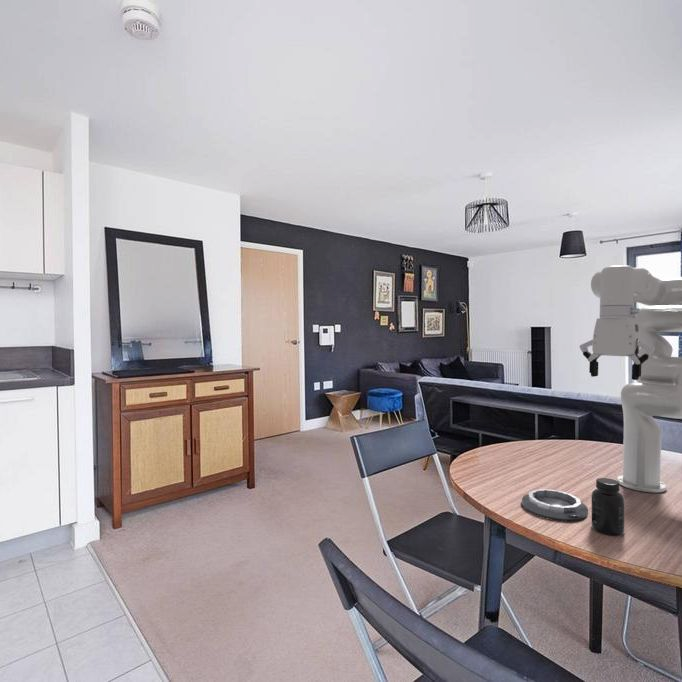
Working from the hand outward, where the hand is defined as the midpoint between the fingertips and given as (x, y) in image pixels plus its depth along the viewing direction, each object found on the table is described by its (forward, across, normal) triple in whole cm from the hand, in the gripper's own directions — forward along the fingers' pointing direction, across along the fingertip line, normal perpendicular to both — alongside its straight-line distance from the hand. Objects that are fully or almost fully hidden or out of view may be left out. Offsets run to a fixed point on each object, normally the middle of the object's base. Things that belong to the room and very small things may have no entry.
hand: (614, 377), depth 116 cm
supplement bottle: (+36, -4, +13) cm, 38 cm away
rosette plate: (+36, +10, +10) cm, 38 cm away
